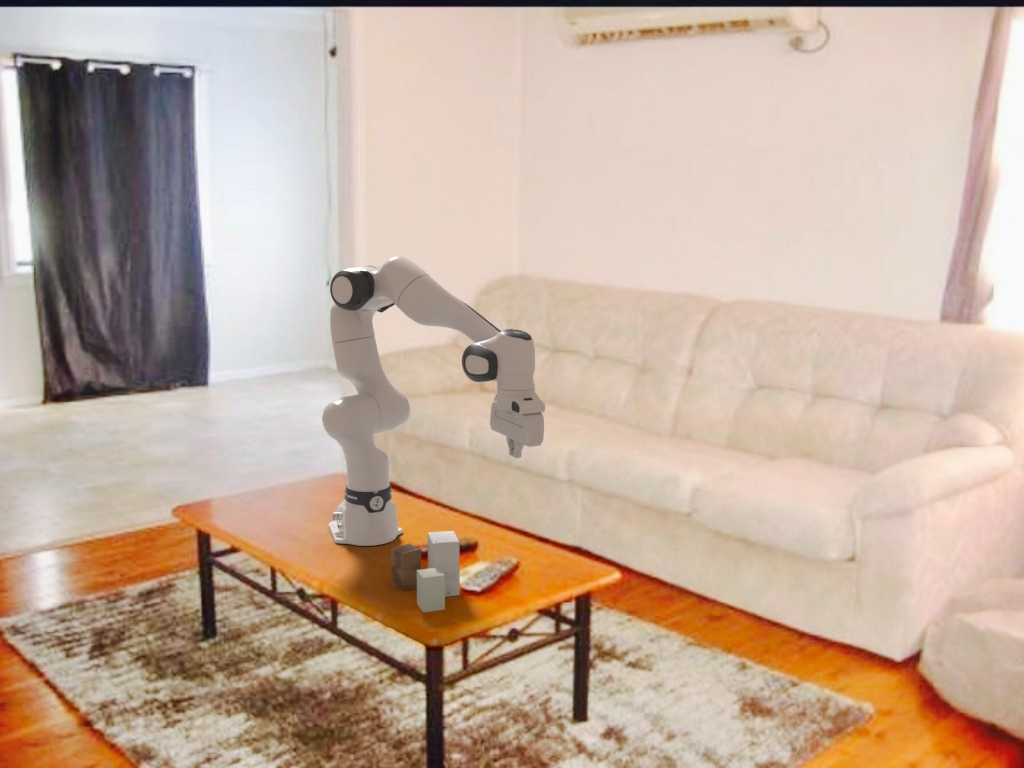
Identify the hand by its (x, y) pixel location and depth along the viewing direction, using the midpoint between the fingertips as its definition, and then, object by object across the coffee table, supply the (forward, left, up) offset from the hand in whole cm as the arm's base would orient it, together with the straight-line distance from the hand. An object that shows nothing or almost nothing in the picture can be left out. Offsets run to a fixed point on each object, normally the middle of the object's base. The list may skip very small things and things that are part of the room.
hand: (515, 456), depth 244 cm
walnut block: (-5, -26, -29) cm, 39 cm away
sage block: (+9, -26, -29) cm, 40 cm away
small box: (+2, -20, -29) cm, 35 cm away
